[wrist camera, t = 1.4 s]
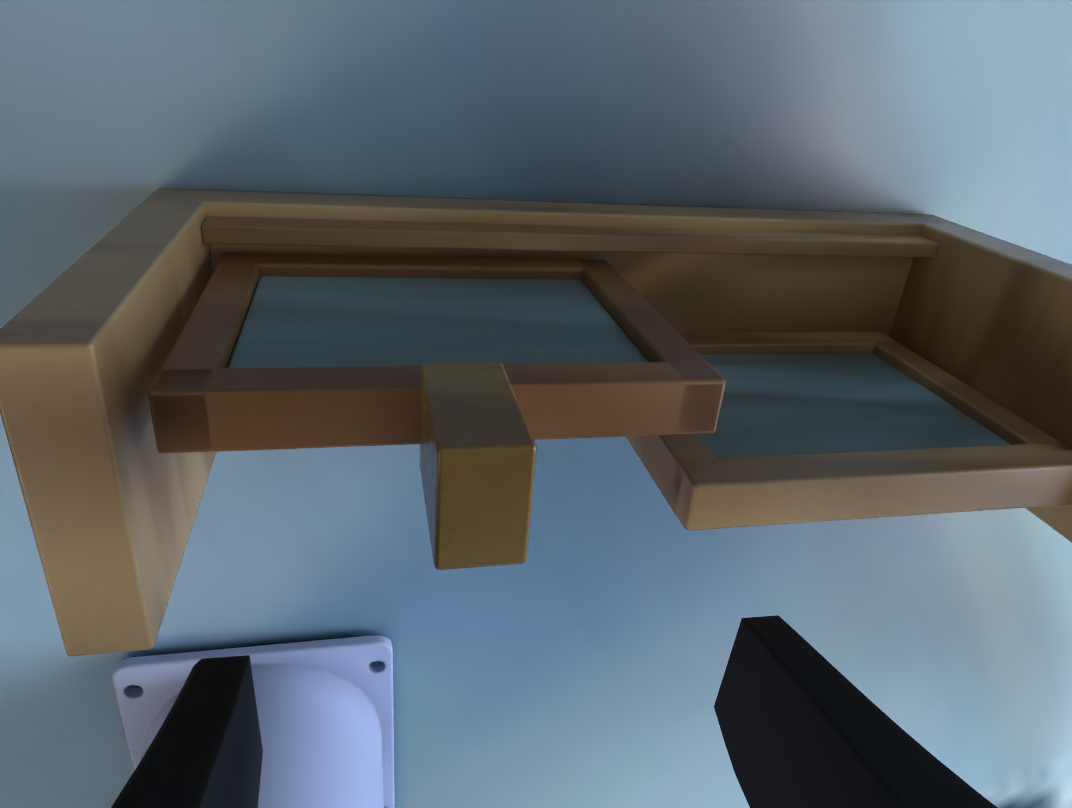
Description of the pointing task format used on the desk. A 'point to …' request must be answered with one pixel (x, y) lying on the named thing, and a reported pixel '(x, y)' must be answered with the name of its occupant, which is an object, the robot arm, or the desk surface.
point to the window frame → (672, 460)
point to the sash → (430, 374)
